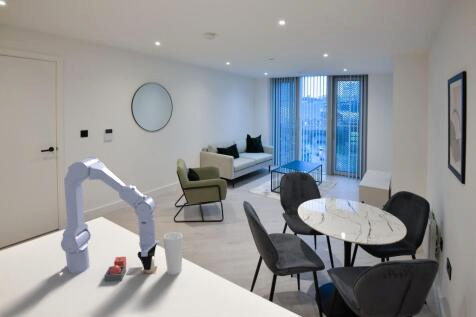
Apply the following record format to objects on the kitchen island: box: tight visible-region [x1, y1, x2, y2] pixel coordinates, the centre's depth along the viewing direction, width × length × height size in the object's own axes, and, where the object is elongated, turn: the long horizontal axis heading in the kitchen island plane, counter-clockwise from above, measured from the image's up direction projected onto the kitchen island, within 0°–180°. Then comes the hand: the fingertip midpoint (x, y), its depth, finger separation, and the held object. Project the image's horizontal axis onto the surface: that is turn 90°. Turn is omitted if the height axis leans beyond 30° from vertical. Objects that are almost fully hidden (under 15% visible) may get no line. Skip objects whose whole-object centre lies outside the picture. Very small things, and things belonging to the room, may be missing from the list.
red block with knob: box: [113, 256, 127, 267], centre depth 115 cm, size 3×3×4 cm
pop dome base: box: [104, 265, 127, 282], centre depth 109 cm, size 6×6×2 cm
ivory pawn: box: [144, 255, 156, 273], centre depth 112 cm, size 4×4×5 cm
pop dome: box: [110, 265, 121, 274], centre depth 108 cm, size 4×4×3 cm
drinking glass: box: [163, 231, 184, 276], centre depth 112 cm, size 7×7×15 cm
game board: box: [125, 265, 158, 276], centre depth 112 cm, size 17×12×1 cm
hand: (149, 264), depth 112 cm, fingers open, 6 cm apart
